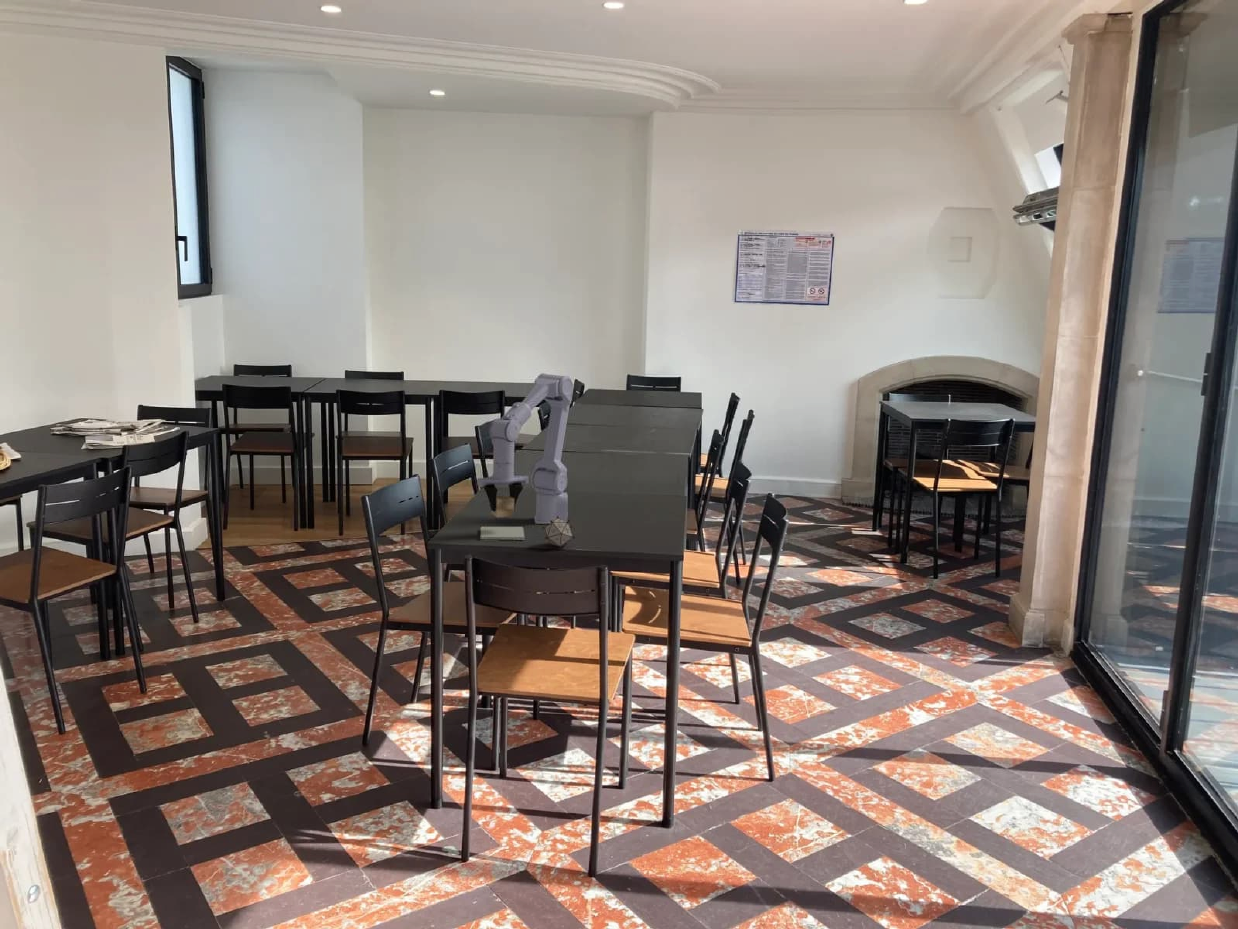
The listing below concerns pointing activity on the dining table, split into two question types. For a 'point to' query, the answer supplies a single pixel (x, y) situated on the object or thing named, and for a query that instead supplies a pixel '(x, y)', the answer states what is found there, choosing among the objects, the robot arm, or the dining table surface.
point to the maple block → (504, 506)
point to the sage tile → (502, 533)
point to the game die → (558, 532)
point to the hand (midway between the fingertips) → (502, 509)
